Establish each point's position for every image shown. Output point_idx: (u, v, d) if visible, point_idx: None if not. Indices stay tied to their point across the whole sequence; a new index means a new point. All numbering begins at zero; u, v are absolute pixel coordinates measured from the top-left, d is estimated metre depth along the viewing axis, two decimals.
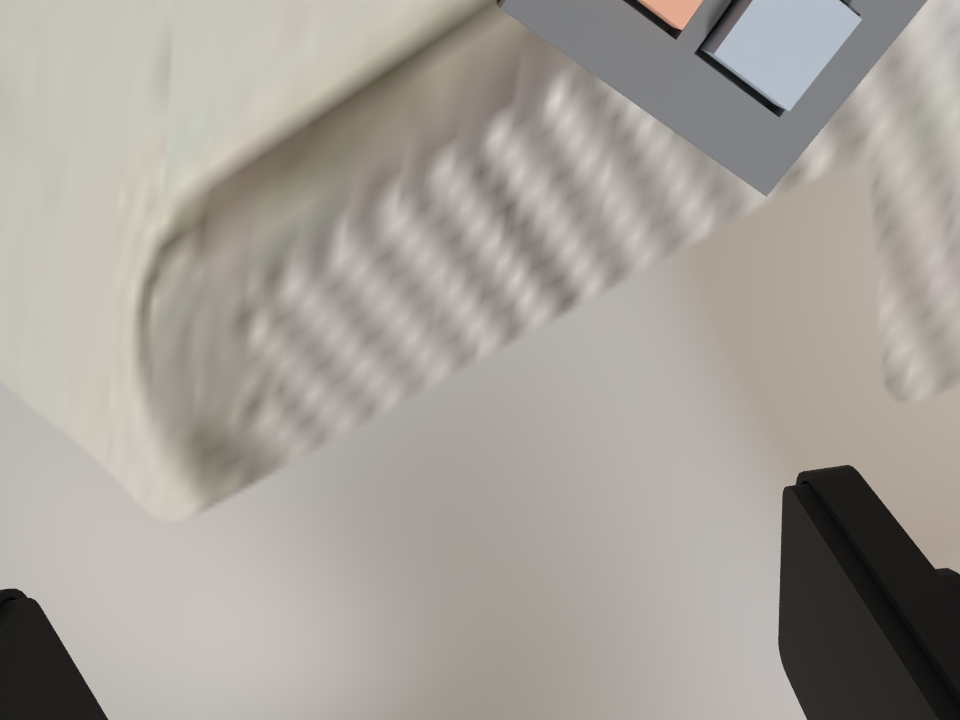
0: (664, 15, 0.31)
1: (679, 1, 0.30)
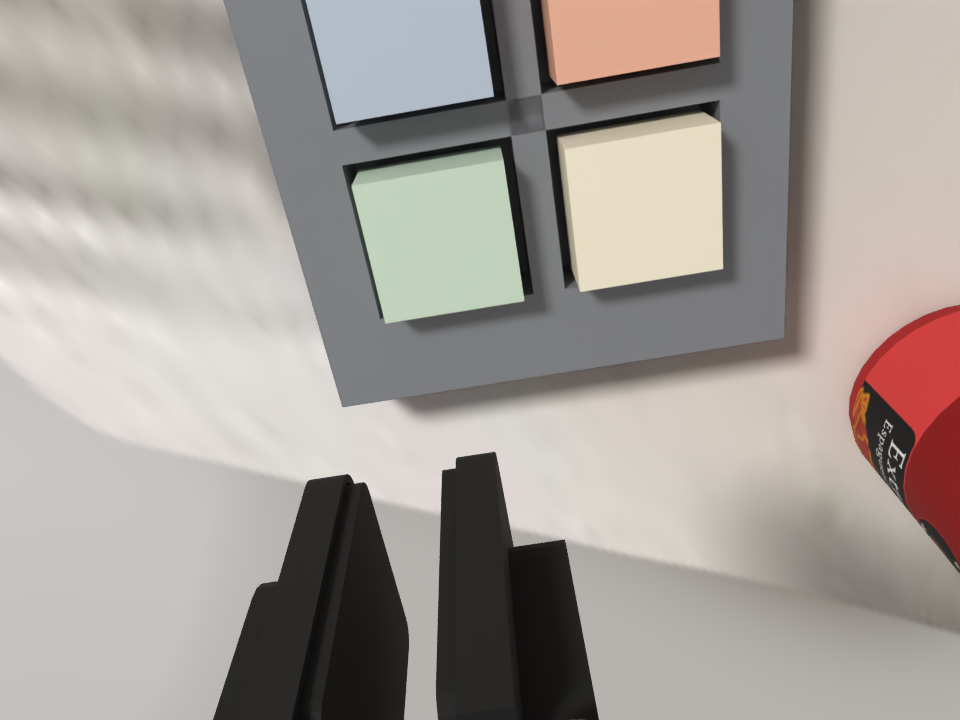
0: None
1: None
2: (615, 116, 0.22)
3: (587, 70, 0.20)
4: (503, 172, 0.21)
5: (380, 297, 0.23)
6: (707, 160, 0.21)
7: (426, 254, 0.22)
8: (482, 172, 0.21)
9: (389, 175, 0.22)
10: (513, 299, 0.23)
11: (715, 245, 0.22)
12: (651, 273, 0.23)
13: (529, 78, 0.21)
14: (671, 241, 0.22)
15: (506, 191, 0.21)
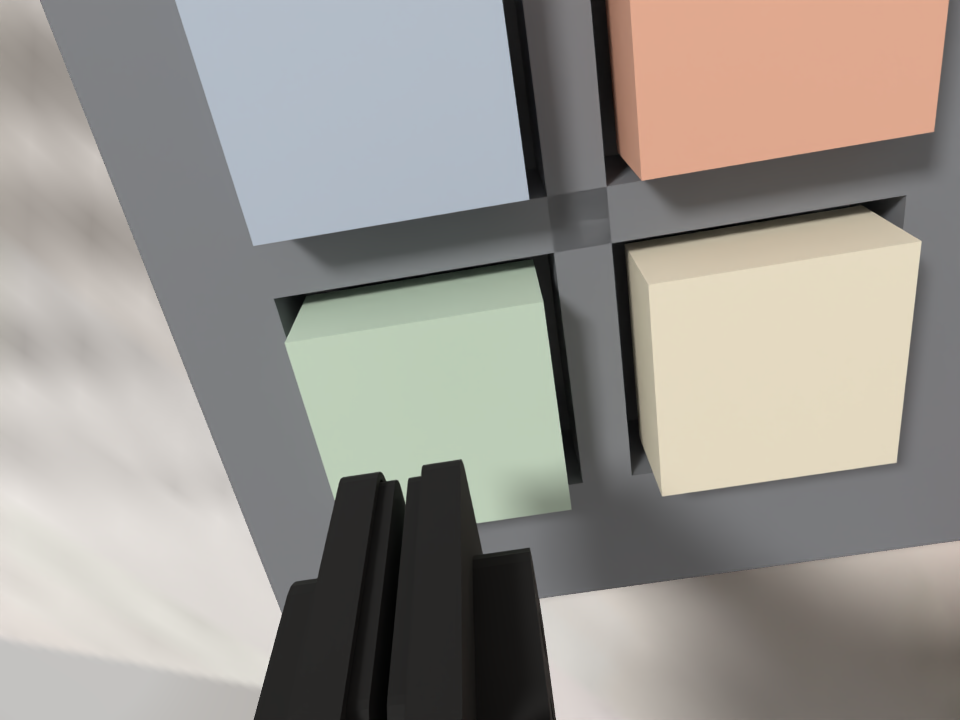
0: None
1: None
2: (729, 221, 0.13)
3: (696, 155, 0.11)
4: (542, 321, 0.12)
5: None
6: (890, 301, 0.12)
7: (413, 444, 0.13)
8: (507, 322, 0.12)
9: (350, 319, 0.13)
10: (554, 507, 0.14)
11: (888, 429, 0.13)
12: (779, 469, 0.14)
13: (587, 161, 0.12)
14: (816, 424, 0.13)
15: (547, 350, 0.13)
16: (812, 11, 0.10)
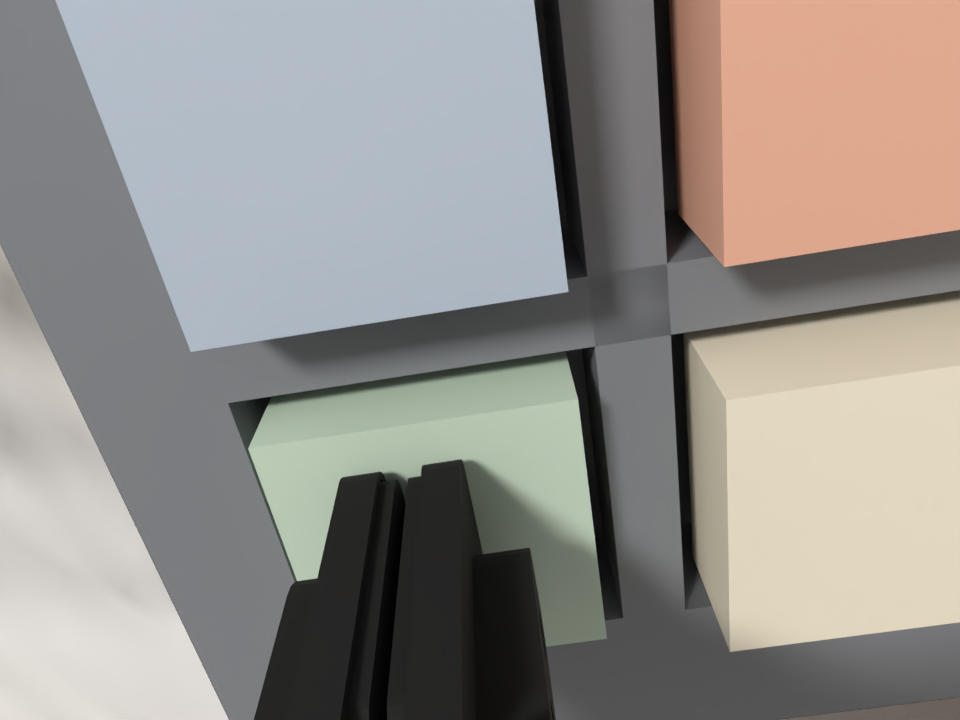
0: None
1: None
2: (827, 307, 0.10)
3: (801, 234, 0.08)
4: (577, 422, 0.10)
5: None
6: None
7: None
8: (532, 423, 0.10)
9: (333, 414, 0.10)
10: (585, 636, 0.11)
11: None
12: (883, 620, 0.11)
13: (642, 231, 0.09)
14: (937, 567, 0.10)
15: (581, 456, 0.10)
16: None
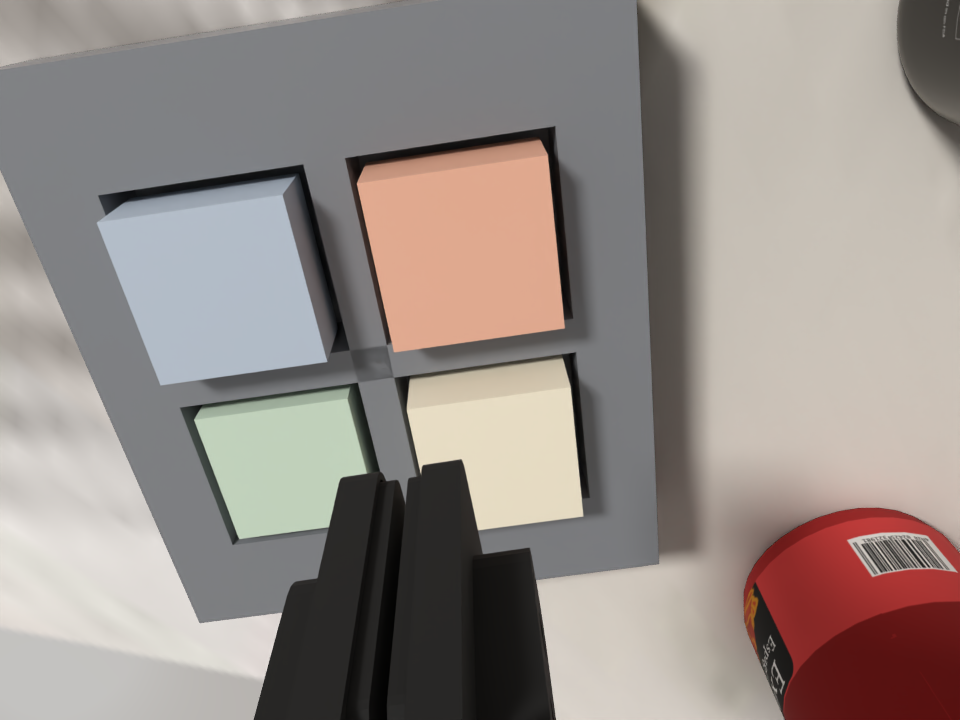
0: (400, 178, 0.17)
1: (398, 211, 0.17)
2: (467, 365, 0.21)
3: (425, 339, 0.19)
4: (348, 409, 0.21)
5: (232, 516, 0.22)
6: (558, 420, 0.20)
7: (276, 479, 0.22)
8: (327, 409, 0.21)
9: (236, 404, 0.21)
10: None
11: (573, 496, 0.21)
12: (508, 519, 0.22)
13: (373, 330, 0.20)
14: (527, 492, 0.21)
15: (352, 425, 0.21)
16: (480, 266, 0.18)
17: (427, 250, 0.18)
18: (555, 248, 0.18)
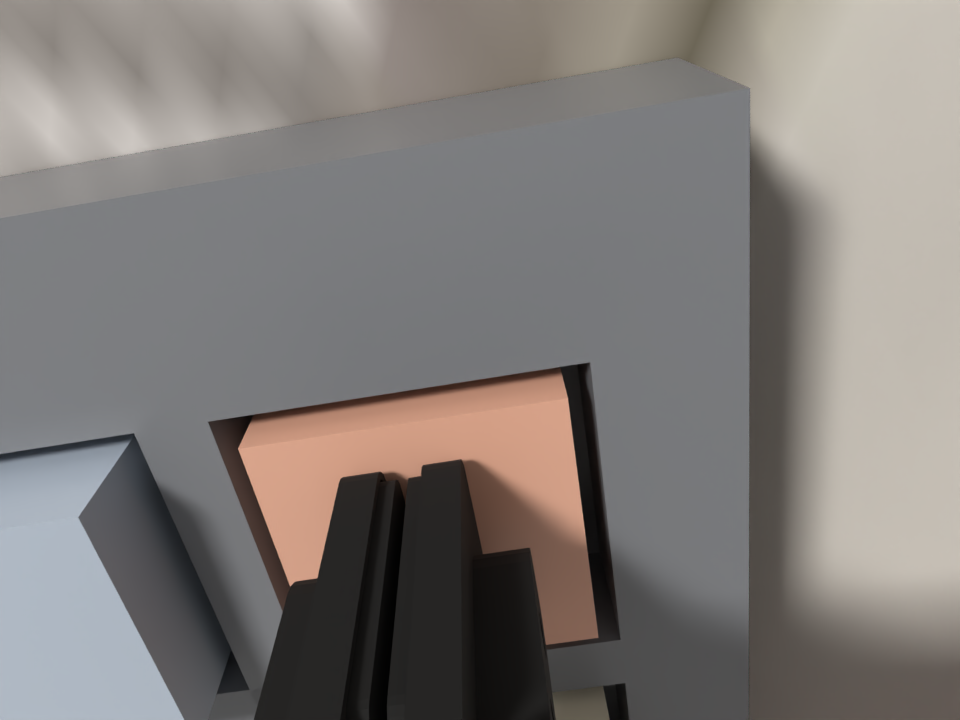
0: (312, 438, 0.10)
1: (313, 486, 0.10)
2: None
3: None
4: None
5: None
6: None
7: None
8: None
9: None
10: None
11: None
12: None
13: None
14: None
15: None
16: None
17: None
18: (582, 531, 0.11)
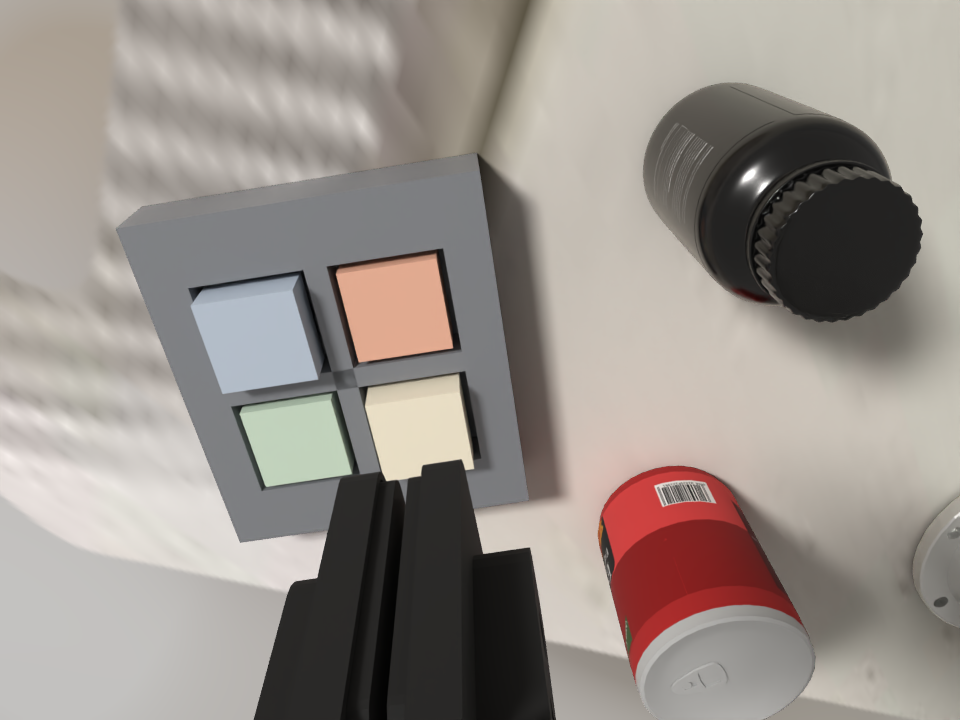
0: (358, 271, 0.32)
1: (358, 287, 0.32)
2: (401, 379, 0.35)
3: (375, 355, 0.34)
4: (331, 406, 0.35)
5: (261, 472, 0.37)
6: (454, 411, 0.34)
7: (288, 449, 0.36)
8: (318, 406, 0.35)
9: (264, 404, 0.35)
10: (345, 473, 0.37)
11: (467, 456, 0.35)
12: None
13: (344, 360, 0.34)
14: (439, 454, 0.35)
15: (334, 416, 0.35)
16: (404, 315, 0.33)
17: (374, 307, 0.33)
18: (444, 305, 0.33)
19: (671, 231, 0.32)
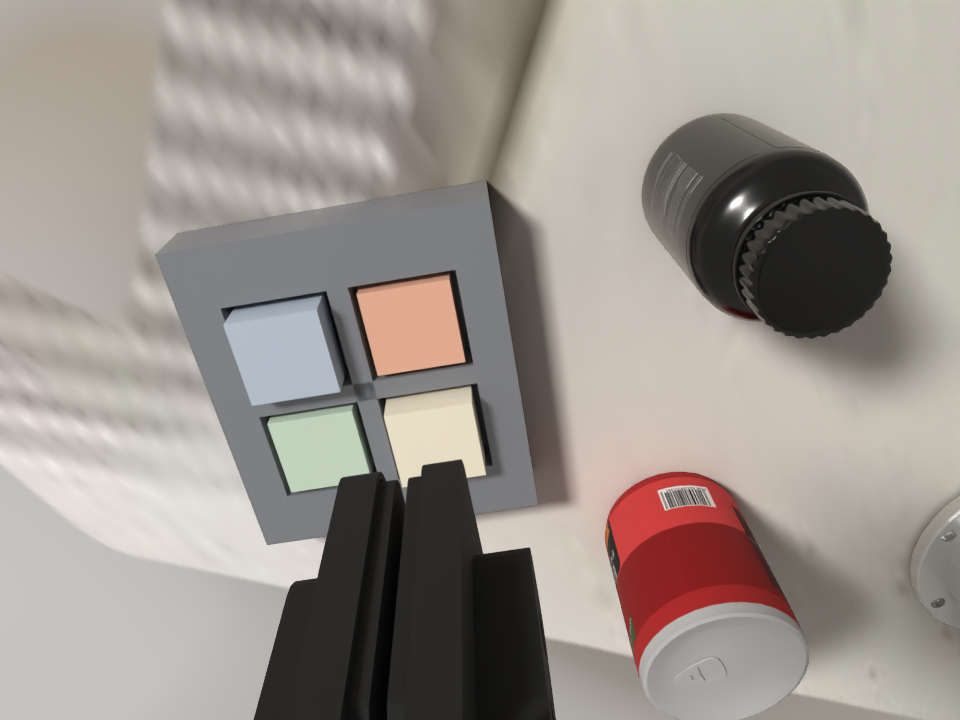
0: (377, 291, 0.34)
1: (377, 307, 0.35)
2: (417, 391, 0.37)
3: (393, 369, 0.36)
4: (352, 416, 0.38)
5: (287, 479, 0.39)
6: (467, 421, 0.37)
7: (312, 457, 0.39)
8: (340, 417, 0.38)
9: (289, 415, 0.38)
10: None
11: (479, 463, 0.38)
12: None
13: (364, 373, 0.37)
14: None
15: (355, 426, 0.38)
16: (419, 332, 0.35)
17: (392, 325, 0.35)
18: (457, 322, 0.35)
19: (668, 252, 0.34)
